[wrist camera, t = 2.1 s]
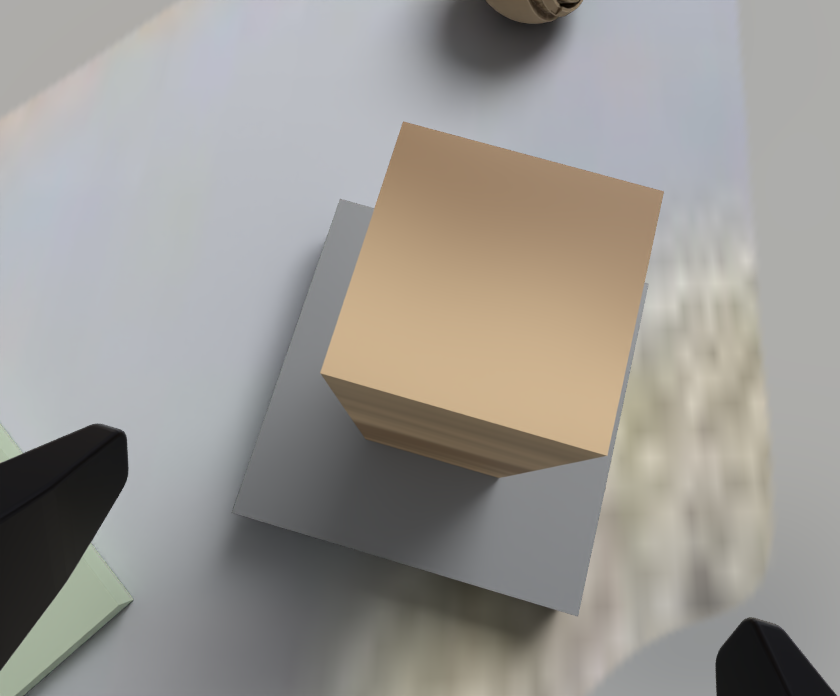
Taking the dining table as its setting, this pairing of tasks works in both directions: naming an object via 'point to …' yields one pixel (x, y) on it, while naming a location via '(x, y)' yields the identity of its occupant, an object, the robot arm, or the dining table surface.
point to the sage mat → (62, 614)
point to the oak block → (492, 306)
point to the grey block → (412, 473)
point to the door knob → (534, 9)
